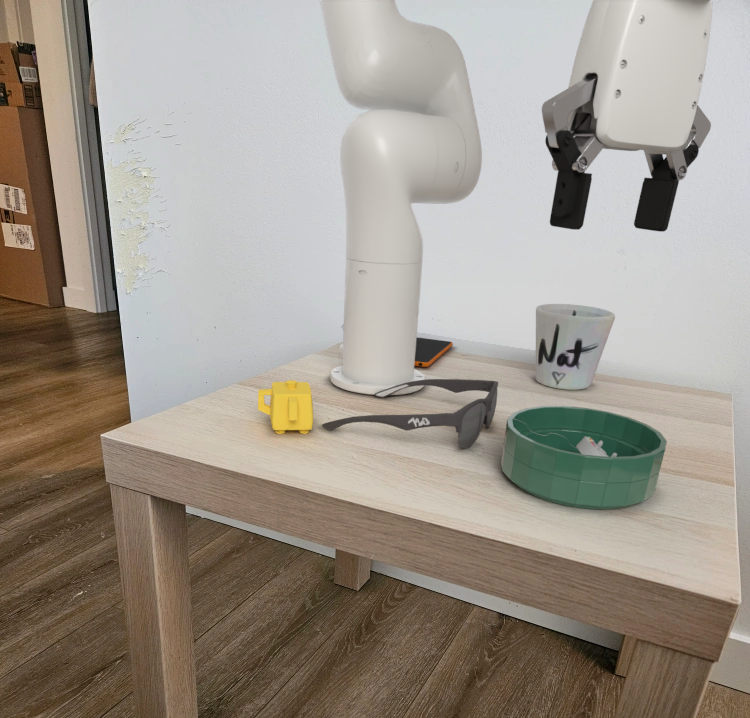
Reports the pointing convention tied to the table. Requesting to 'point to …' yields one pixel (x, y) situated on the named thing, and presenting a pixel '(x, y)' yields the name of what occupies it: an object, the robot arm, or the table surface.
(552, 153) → the robot arm
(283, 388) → the teapot
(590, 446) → the game controller
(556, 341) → the mug
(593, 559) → the table surface
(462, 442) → the sunglasses
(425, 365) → the smartphone
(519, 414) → the bowl
